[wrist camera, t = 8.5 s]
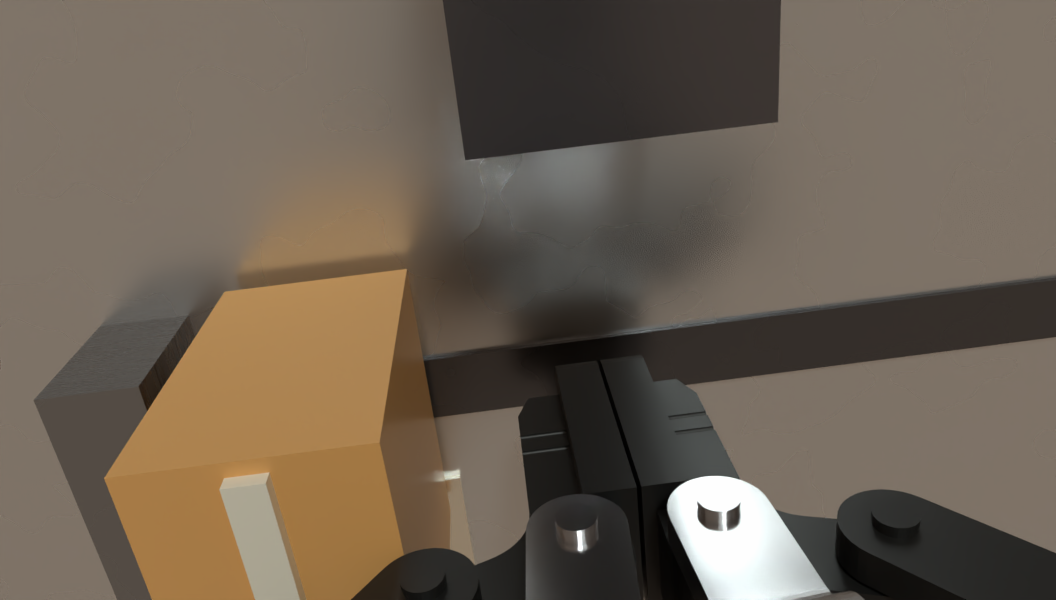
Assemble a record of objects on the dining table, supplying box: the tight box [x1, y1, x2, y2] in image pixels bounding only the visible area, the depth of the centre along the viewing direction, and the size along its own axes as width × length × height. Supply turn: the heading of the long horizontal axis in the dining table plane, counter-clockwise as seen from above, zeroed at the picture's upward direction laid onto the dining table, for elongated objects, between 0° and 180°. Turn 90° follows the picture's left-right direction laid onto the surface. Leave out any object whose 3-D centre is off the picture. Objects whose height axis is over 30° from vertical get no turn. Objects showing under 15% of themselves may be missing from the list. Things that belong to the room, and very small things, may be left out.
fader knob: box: [104, 269, 451, 600], centre depth 12 cm, size 3×5×5 cm, turn 6°
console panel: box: [0, 0, 1056, 600], centre depth 12 cm, size 30×20×7 cm, turn 96°
